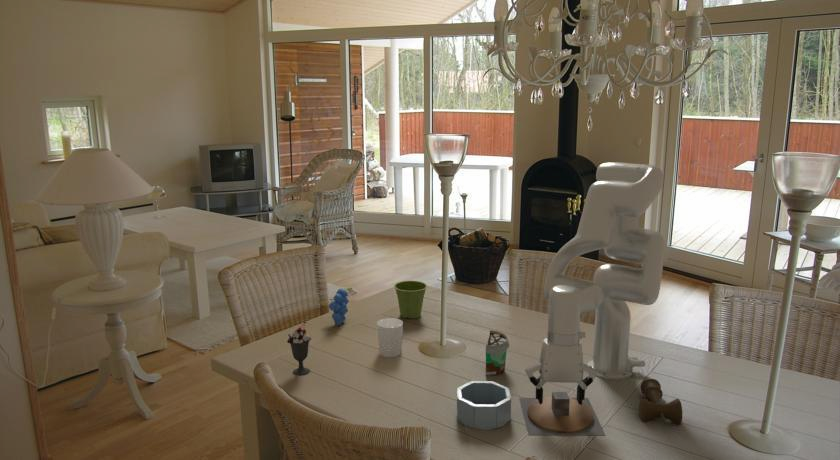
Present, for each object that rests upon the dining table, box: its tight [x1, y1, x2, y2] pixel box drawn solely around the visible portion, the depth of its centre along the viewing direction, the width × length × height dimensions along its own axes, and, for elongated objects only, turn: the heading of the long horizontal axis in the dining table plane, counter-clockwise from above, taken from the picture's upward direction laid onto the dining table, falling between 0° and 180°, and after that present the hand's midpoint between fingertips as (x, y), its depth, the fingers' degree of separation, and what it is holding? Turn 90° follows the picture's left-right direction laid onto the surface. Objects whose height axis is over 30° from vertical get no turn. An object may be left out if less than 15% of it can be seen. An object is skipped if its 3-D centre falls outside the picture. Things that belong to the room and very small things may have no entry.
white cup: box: [376, 317, 404, 358], centre depth 196 cm, size 8×8×10 cm
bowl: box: [456, 380, 512, 430], centre depth 158 cm, size 13×13×6 cm
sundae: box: [286, 321, 312, 377], centre depth 183 cm, size 7×7×15 cm
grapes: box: [328, 288, 350, 326], centre depth 221 cm, size 12×7×12 cm, turn 167°
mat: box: [519, 397, 606, 437], centre depth 159 cm, size 18×18×1 cm
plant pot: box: [393, 280, 428, 320], centre depth 227 cm, size 12×12×11 cm
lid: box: [527, 391, 593, 433], centre depth 158 cm, size 16×16×6 cm
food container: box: [485, 330, 510, 377], centre depth 183 cm, size 12×6×10 cm, turn 168°
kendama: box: [638, 377, 683, 425], centre depth 160 cm, size 6×10×20 cm
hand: (559, 401), depth 157 cm, fingers open, 9 cm apart
